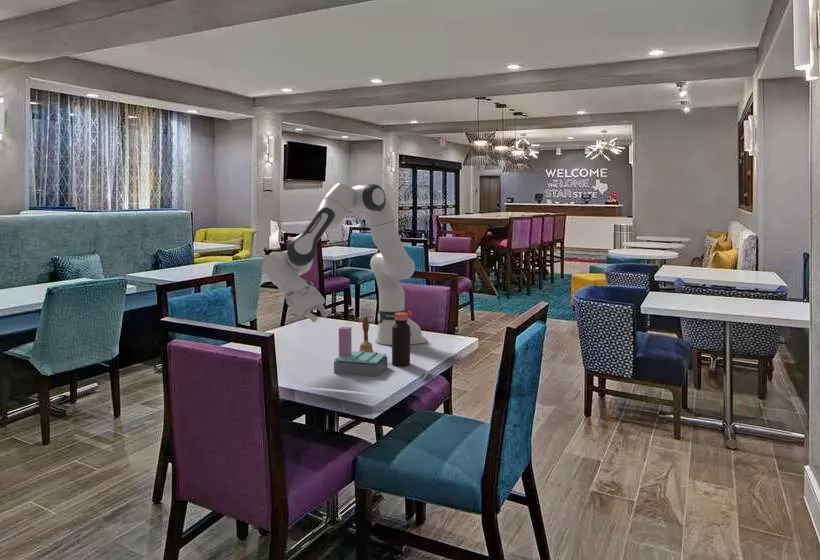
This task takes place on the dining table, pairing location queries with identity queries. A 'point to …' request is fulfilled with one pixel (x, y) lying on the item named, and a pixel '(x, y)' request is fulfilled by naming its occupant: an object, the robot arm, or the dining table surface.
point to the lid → (350, 355)
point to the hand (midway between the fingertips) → (321, 318)
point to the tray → (360, 368)
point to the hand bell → (366, 338)
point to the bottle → (401, 340)
